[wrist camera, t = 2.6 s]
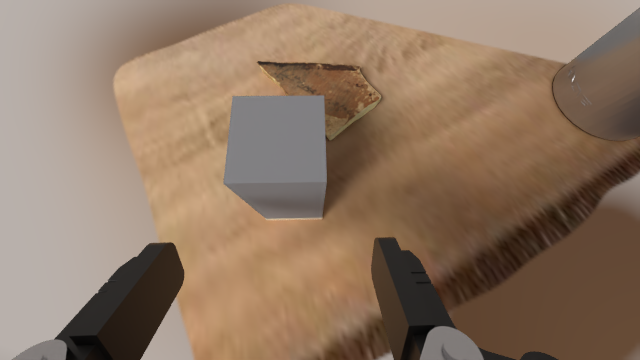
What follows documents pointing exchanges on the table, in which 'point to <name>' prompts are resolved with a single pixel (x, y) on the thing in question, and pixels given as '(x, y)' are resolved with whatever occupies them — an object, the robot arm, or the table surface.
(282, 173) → the sanding block
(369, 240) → the table surface
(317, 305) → the table surface
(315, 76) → the shard
